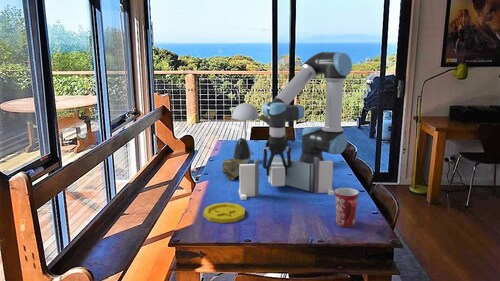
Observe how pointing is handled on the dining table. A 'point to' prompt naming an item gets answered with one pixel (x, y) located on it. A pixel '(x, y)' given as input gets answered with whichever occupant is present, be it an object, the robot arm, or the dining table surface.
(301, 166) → the door
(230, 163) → the rock
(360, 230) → the dining table surface
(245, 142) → the dark grey rounded lump
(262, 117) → the coral
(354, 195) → the mug
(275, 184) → the white rectangular block
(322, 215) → the dining table surface
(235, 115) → the lamp
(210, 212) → the decorative disc
